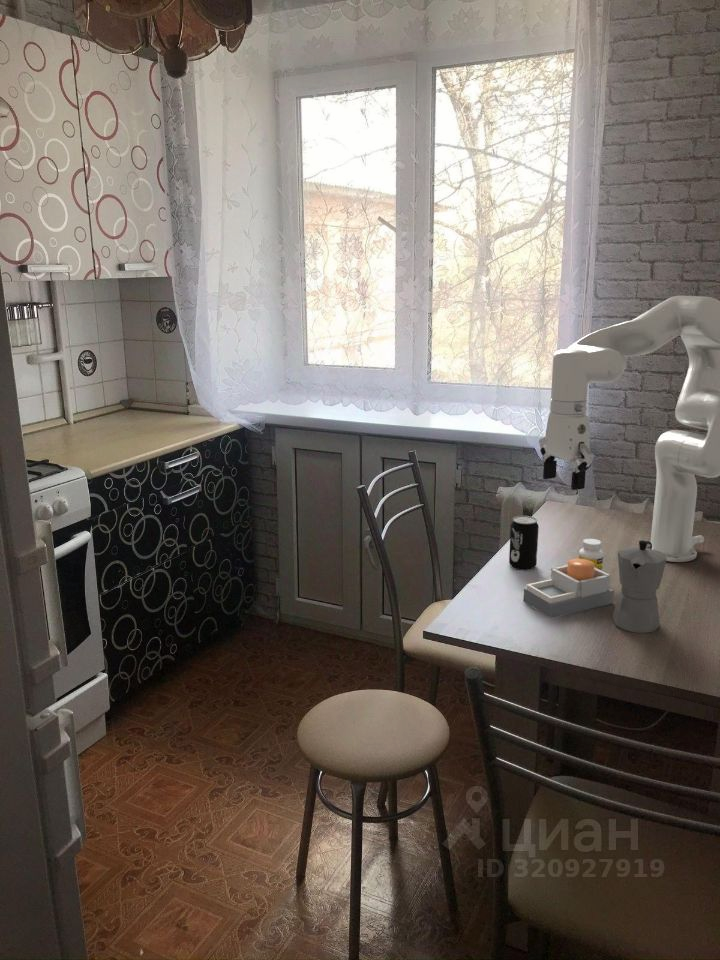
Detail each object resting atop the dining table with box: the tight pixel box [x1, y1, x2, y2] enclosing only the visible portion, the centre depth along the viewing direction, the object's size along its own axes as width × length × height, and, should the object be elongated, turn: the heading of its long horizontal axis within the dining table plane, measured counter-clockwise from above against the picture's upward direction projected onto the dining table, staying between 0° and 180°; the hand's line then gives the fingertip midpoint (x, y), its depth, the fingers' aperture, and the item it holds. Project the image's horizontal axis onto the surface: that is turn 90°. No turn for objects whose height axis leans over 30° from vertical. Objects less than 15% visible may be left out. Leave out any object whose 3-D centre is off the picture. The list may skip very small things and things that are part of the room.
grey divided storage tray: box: [522, 564, 615, 619], centre depth 169 cm, size 17×10×6 cm, turn 115°
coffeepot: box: [612, 540, 668, 634], centre depth 158 cm, size 15×9×18 cm, turn 151°
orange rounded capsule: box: [567, 558, 595, 590], centre depth 170 cm, size 6×6×5 cm
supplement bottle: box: [578, 538, 604, 571], centre depth 180 cm, size 5×5×10 cm
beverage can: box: [508, 515, 540, 571], centre depth 189 cm, size 7×7×12 cm
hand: (563, 483), depth 173 cm, fingers open, 9 cm apart
